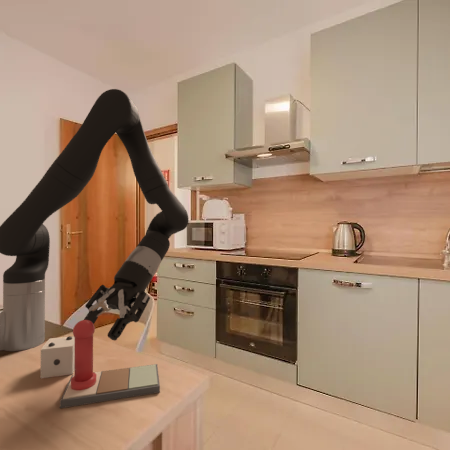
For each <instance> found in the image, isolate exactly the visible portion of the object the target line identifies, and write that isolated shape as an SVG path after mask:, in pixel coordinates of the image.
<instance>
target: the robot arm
mask: <svg viewBox="0 0 450 450" xmlns="http://www.w3.org/2000/svg"><path fill="white" fill-rule="evenodd" d="M115 134H116V136H118V139H120V141H121V142H122V145H123V146H124V147H125V150H126V152H127V154H128V157H129V160H130V164H131V167H132V171H133V174H134V177H135V179H136V182H137V185H138V186H139V188H140V190H141V192H142V195H143V197H144V199H145V200H146V202H147V203H148V204H150V205H157V207H158V208H159V209H160V210H161V211H160V212H158V213H156V215H155V216H154V217H153V218H152V219H151V221H150V222H149V225H148V226H147V230H146V232H145V235H144V236H142V239H141V240H140V241H139V243H138V244H137V245H136V247H135V248H134V249H133V250H132V251H131V253H130V254H129V255H128V256H127V258H126V260H125V261H124V262H123V263H122V264H121V266H120V268H119V269H118V271H117V272H116V273H115V275H114V278H113V279H114V281H113V282H114V283H113V284H112V285H111V286H110V287H106V286H105V285H104V284H101V285H100V286H99V287H98V288H97V290H96V291H95V292H94V294H93V295H92V296H91V298H90V299H89V300H88V301H87V303H86V304H85V308H86V309H87V310H88V312H87V314H86V315H85V317H84V319H83V320H89V321H91V322H92V323H93V324H94V325H95V323H96V321H97V320H98V319H99V317H100V316H101V315H102V314H104V313H105V312H110V311H111V310H118V311H119V317H117V319H116V320H115V322H114V324H113V325H112V326H111V328H110V329H109V330H108V332H107V337H108V338H109V339H110V340H112V341H117V340H118V338H120V337H121V335H122V334H123V331H124V330H125V328H126V327H127V325H129V324H131V323H132V322H134V323H139V320H140V319H141V317H142V316H143V313H144V311H145V309H147V305H148V304H149V301H150V300H151V297H150V296H149V294H147V292H146V290H147V288H148V286H149V285H150V283H151V281H152V280H153V279H154V278H153V277H155V275H156V273H157V271H158V269H159V267H160V265H161V263H162V261H163V260H164V258H165V256H166V255H167V253H168V251H169V249H170V246H171V242H170V240H169V239H170V238H171V237H172V235H174V234H177V233H179V232H183V230H185V229H186V228H187V227H188V225H189V215H188V212H187V209H186V208H185V206H184V204H182V202H181V201H180V200H179V199H178V197H177V196H176V195H175V194H174V192H173V191H172V190H171V188H170V187H169V184H168V182H167V180H166V178H165V175H164V173H163V172H162V170H161V167H160V166H159V164H158V162H157V159H156V158H155V155H154V153H153V152H152V149H151V147H150V144H149V142H148V139H147V137H146V133H145V130H144V127H143V124H142V121H141V116H140V113H139V109H138V106H136V104H135V103H134V101H133V100H132V99H131V98H130V96H129V95H128V94H127V93H126V92H124V91H123V90H121V89H118V88H111V89H107V90H105V91H104V92H102V93H101V94H100V95H99V96H98V97H97V99H96V101H94V103H93V105H92V107H91V108H90V110H89V112H88V114H87V115H86V117H85V119H84V120H83V122H82V123H81V126H80V127H79V128H78V130H77V132H75V134H73V136H72V137H71V139H70V140H69V142H68V143H67V144H66V145H65V147H64V149H63V150H62V151H60V154H59V155H58V156H57V157H56V158H55V160H54V161H53V162H52V164H51V165H50V166H49V167H48V169H47V170H46V172H45V173H44V175H42V178H40V180H39V181H38V183H37V184H36V185H35V187H33V189H32V190H31V191H30V192H29V194H28V196H27V197H26V198H25V199H24V200H23V202H22V203H20V204H19V206H18V207H17V208H16V209H15V210H14V211H13V212H12V213H11V214H9V216H8V217H7V218H6V219H5V220H4V221H3V222H2V223H1V224H0V254H1V255H4V256H7V257H15V261H14V262H13V264H12V265H11V266H10V267H8V268H7V269H6V270H5V271H4V272H3V273H2V274H3V275H2V311H1V312H0V351H5V352H17V351H18V352H19V351H25V350H30V349H33V348H36V347H38V346H40V345H42V344H44V342H45V338H46V332H45V331H46V330H45V329H46V309H45V308H46V272H47V270H48V268H49V265H50V264H49V261H50V248H51V247H50V246H51V245H50V244H51V241H50V233H49V230H48V228H47V227H46V225H45V224H44V223H45V222H46V220H47V219H49V217H51V216H52V215H53V214H55V213H56V212H58V211H59V210H60V209H62V208H64V207H65V206H67V205H68V204H69V203H71V202H72V201H74V199H76V198H77V197H78V196H79V195H80V194H81V193H82V191H83V190H84V189H85V188H86V186H87V185H88V183H89V182H90V181H91V179H92V178H93V176H94V174H95V173H96V169H97V167H98V164H99V160H100V157H101V154H102V152H103V151H104V150H103V149H104V148H105V146H106V145H107V143H108V142H109V141H110V140H111V139H112V137H113V136H114V135H115ZM94 303H95V304H94Z"/></svg>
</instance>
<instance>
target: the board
mask: <svg viewBox="0 0 450 450" xmlns="http://www.w3.org/2000/svg"><path fill="white" fill-rule="evenodd" d="M93 372H94V371H93ZM94 373H96V383H95V385H93V386H92V387H90V388H88V389H85V390H73V389H71V379H72V377H74V374H71V375H70V376H71V377H70V379H69V381H68V382H67V385H66V387H65V389H64V391H63V394H62V397H61V398H60V399H59V409H63V408H71V407H77V406H82V405H83V406H84V405H88V404H95V403H96V404H97V403H101V402H106V401H108V402H109V401H114V400H119V399H126V398H133V397H139V396H146V395H151V394H156V393H158V394H159V393H161V390H160V389H161V388H160V387H161V386H160V375H159V369H158V364H157V363H154V364H146V365H139V366H132V367H125V368H117V369H109V370H102V371H95V372H94Z"/></svg>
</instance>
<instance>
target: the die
mask: <svg viewBox="0 0 450 450" xmlns="http://www.w3.org/2000/svg"><path fill="white" fill-rule="evenodd" d="M74 360H75V337H74V335H72V336H71V335H68V336H63V337H53V338H52V337H50V338H49V339H48V340H47V341H46V343H45V344H44V345H43V346H42V347H41V349H40V379H47V378H53V377H62V376H71V375H74Z"/></svg>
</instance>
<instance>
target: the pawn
mask: <svg viewBox="0 0 450 450" xmlns="http://www.w3.org/2000/svg"><path fill="white" fill-rule="evenodd" d="M95 330H96V328H95V323H94V324H93V323H92V322H91V321H89V320H84V319H82V320H80V321H78V322H77V323H76V324H75V325H74V327H73V329H72V336H74V337H75V360H74V372H73V375H74V377H72V379H71V389H73V390H85V389H88V388H90V387H92V386H93V385H95V383H96V373H94V333H95Z"/></svg>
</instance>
